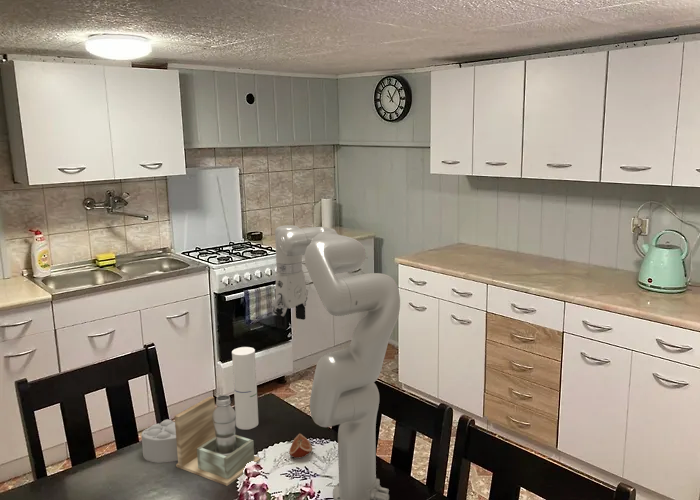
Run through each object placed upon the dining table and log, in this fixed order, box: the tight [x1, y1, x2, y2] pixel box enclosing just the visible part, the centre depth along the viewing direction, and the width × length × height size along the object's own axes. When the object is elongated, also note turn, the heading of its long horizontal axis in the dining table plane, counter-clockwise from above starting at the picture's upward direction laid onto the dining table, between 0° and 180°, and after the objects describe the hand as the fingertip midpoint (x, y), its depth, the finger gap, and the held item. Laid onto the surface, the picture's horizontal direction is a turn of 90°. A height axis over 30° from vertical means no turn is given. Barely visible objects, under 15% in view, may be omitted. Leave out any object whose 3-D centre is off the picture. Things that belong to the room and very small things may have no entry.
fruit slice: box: [288, 432, 313, 459], centre depth 167 cm, size 8×7×5 cm
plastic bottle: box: [212, 394, 238, 456], centre depth 160 cm, size 6×7×20 cm
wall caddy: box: [173, 395, 261, 487], centre depth 162 cm, size 19×14×16 cm
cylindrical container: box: [231, 346, 259, 430], centre depth 183 cm, size 7×7×25 cm
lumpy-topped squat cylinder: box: [140, 418, 178, 464], centre depth 169 cm, size 10×13×9 cm
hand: (291, 323), depth 172 cm, fingers open, 9 cm apart
